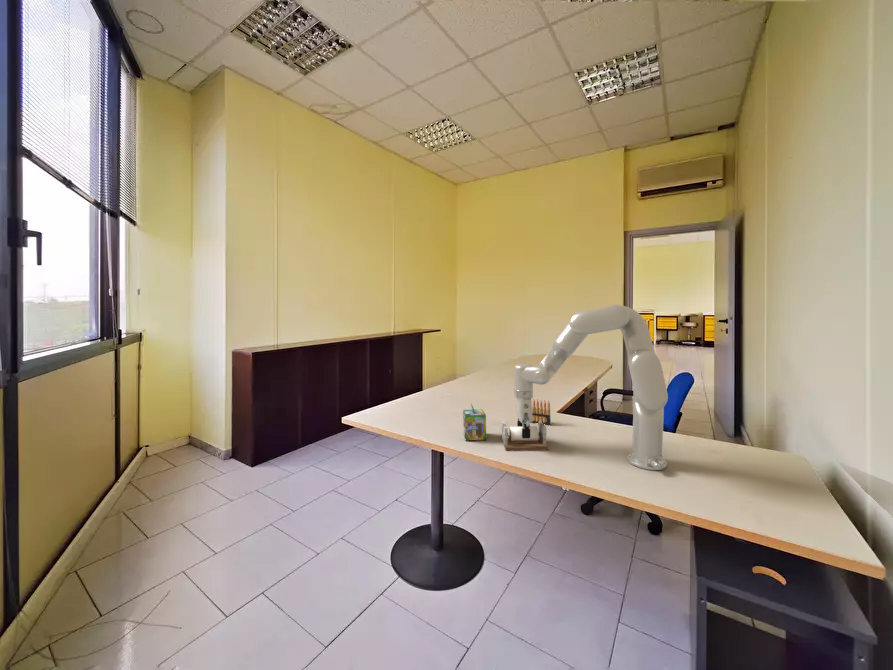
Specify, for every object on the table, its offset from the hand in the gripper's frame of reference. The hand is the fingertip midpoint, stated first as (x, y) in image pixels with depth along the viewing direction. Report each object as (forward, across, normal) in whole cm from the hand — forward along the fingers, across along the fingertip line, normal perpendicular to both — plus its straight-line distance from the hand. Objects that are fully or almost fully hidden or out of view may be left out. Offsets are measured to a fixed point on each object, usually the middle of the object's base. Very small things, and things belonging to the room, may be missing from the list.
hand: (523, 433), depth 147 cm
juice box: (+5, +8, +20) cm, 22 cm away
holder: (+4, 0, 0) cm, 4 cm away
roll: (+3, 0, 0) cm, 3 cm away
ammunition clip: (+5, +25, -13) cm, 29 cm away
